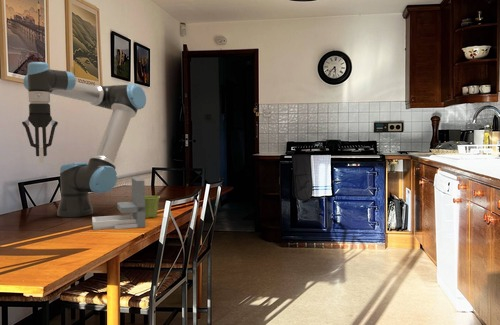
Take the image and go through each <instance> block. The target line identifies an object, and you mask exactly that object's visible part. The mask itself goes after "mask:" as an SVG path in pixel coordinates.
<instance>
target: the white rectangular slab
mask: <svg viewBox="0 0 500 325" xmlns="http://www.w3.org/2000/svg"><path fill="white" fill-rule="evenodd" d="M91 219H92V220H91V223H92V224H91V225H92V229H93V231H98V230H101V229H102V230H115V229H114V225H120V224H134V223H137V219H136V218H135V216H134V215H132V214H124V215H123V214H122V215H121V214H120V215H104V216H92V217H91ZM102 230H101V231H102Z"/></svg>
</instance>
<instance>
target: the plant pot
mask: <svg viewBox="0 0 500 325" xmlns="http://www.w3.org/2000/svg"><path fill="white" fill-rule="evenodd" d="M160 198H161V196H160V195H145V219H146V218H147V219H150V218H156V217H157V216H158V209H159V201H160Z"/></svg>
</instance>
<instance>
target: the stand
mask: <svg viewBox="0 0 500 325" xmlns="http://www.w3.org/2000/svg"><path fill="white" fill-rule="evenodd" d="M145 190H146V189H145V180H144V179H142V178H141V177H139V176H137V177H135V176H133V177H131V201H123V202H121V201H120V202H119V201H118V202H117V203H116V208H117V210H118V211H119V212H120V214H130V213H131V215H134V216H135V218H136V219H137V223H134V224H120V225H114V229H113V230H123V229H138V228H146V226H147V225H146V218H145V196H146V194H145V193H146V192H145Z"/></svg>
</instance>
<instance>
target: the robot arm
mask: <svg viewBox="0 0 500 325" xmlns="http://www.w3.org/2000/svg"><path fill="white" fill-rule="evenodd" d="M76 80H77V79H76V75H75V74H74V73H73V72H71V71H67V70H58V69H51V68H50V65H49V63H47V62H42V61H31V62H29V63H27V73H26V75H25V76H24V78H23V86H24V88H25V89H26V90H27V91H28V93H27V94H28V102H29V104H28V117H27V119H26V120H25V121H22V122H21V124H22V126H23V127H24V128H25V132H26V135H27V138H28V141H29V142H28V143H29V145H30V146H31V147H33V148H35V155H36V157H38V158H39V159H38V160H39V166H44V165H45V157H47V155H48V147H49V148H50V147H51V146H52V144H53V139H54V137H55V136H54V135H55V131H56V127H57V126H58V124H59V122H58V121H56V120H54V119H53V117H52V115H51V114H52V113H51V104H50V102H51V95H55V96H60V97H63V98H68V99H73V100H78V101H82V102H87V103H90V105H92V106H95V107H99V108H104V109H108V110H111V111H112V113H111V115H110V117H109V119H108V122H107V125H106V127H105V130H104V133H103V135H102V138H101V140H100V143H99V145H98V148H97V150H96V152H95V155H94V156H92V157H90V158H89V160H88V162H85V161H82V162H81V161H80V162H74V163H73V162H71V163H66V164H62V165H61V166H60V169H59V170H60V171H59V181H60V201H59V205H58V206H57V207H58V208H57V211H56V212H57V217H60V218H61V217H62V218H75V217H76V218H77V217H87V216H91V215H93V214H94V208H93V205H92V203H91V199H90V196H89V193H93V194H103V193H108V192H111V191H112V190H113V189H114V188H115V185H116V184H117V182H118V176H117V175H118V174H117V170H116V165H115V162H116V161H115V160H116V158H117V156H118V154H119V153H118V152H119V150H120V148H121V146H122V143H123V140H124V137H125V135H126V132H127V129H128V127H129V124H130V122H131V119H132V118H134V117H136V116H137V112H138V110H141V109H143V108H145V106H146V104H147V96H146V92H145V91H144V89H143V87H142V86H140V85H139V84H136V83H129V84H119V85H118V84H115V85H99V84H94V85H91V84H85V83H83V82H82V83H81V82H77V81H76ZM30 124H31V125H32V126H33V127H34V133H35V134H34V137H35V138H34V139H35V142H34V140H33V136H32V133H31V129H30V127H29V126H30ZM50 124H51V125H50ZM49 125H50V126H51V130H50V133H49V138H48V142H47V127H48V126H49ZM40 128H42V130H41V131H42V147H40Z"/></svg>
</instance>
